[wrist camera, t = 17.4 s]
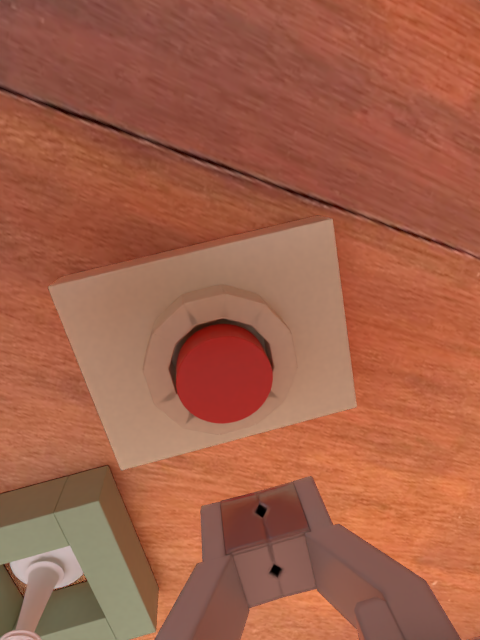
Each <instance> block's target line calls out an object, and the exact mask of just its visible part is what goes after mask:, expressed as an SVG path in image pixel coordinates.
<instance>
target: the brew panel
mask: <svg viewBox="0 0 480 640" xmlns="http://www.w3.org/2000/svg"><path fill="white" fill-rule="evenodd" d="M48 290H49V292H50V295H51V297H52V300H53V302H54V305H55V307H56V310H57V312H58V315H59V317H60V320H61V322H62V325H63V327H64V330H65V332H66V335H67V337H68V340H69V342H70V345H71V347H72V350H73V352H74V355H75V357H76V360H77V362H78V365H79V367H80V370H81V372H82V375H83V377H84V380H85V382H86V385H87V387H88V390H89V392H90V395H91V397H92V400H93V402H94V405H95V407H96V410H97V412H98V415H99V417H100V420H101V422H102V424H103V427H104V429H105V432H106V434H107V437H108V439H109V442H110V444H111V447H112V449H113V452H114V454H115V457H116V459H117V462H118V464H119V467H120V469H121V470H126V469H129V468H133V467H137V466H141V465H144V464H148V463H152V462H155V461H159V460H163V459H167V458H170V457H174V456H178V455H181V454H185V453H189V452H193V451H196V450H200V449H204V448H207V447H211V446H215V445H218V444H222V443H226V442H230V441H233V440H237V439H241V438H244V437H248V436H252V435H256V434H259V433H263V432H267V431H270V430H274V429H278V428H282V427H285V426H289V425H293V424H296V423H300V422H304V421H308V420H311V419H315V418H319V417H322V416H326V415H330V414H333V413H337V412H341V411H345V410H348V409H352V408H356V407H357V403H356V395H355V388H354V380H353V372H352V364H351V357H350V349H349V341H348V333H347V326H346V318H345V310H344V303H343V295H342V287H341V279H340V272H339V264H338V256H337V248H336V241H335V233H334V225H333V219H332V218H328V217H323V216H319V215H317V216H312V217H308V218H304V219H300V220H296V221H291V222H287V223H283V224H279V225H275V226H271V227H266V228H262V229H258V230H254V231H250V232H245V233H241V234H237V235H233V236H229V237H225V238H220V239H216V240H212V241H208V242H204V243H199V244H195V245H191V246H187V247H183V248H179V249H174V250H170V251H166V252H162V253H158V254H153V255H149V256H145V257H141V258H137V259H133V260H128V261H124V262H120V263H116V264H112V265H107V266H103V267H99V268H95V269H91V270H87V271H82V272H78V273H74V274H70V275H66V276H61V277H60V278H59V279H57V280H56V281H55V282H53V283H52V284H51V285H50V286H48ZM215 324H232V325H236V326H239V327H242V328H244V329H246V330H248V331H249V332H251V333H252V334H253V335H254V336H255V337H256V338H257V339H258V340H259V342H260V343H261V345H262V347H263V349H264V351H265V353H266V355H267V357H268V359H269V361H270V363H271V367H272V372H273V382H272V387H271V391H270V393H269V395H268V397H267V399H266V401H265V402H264V403H263V405H262V406H261V407H260V408H259V409H258V410H257V411H256V412H254V413H253V414H252V415H250V416H248V417H247V418H244V419H242V420H240V421H237V422H232V423H225V424H219V423H211V422H207V421H204V420H202V419H199V418H198V417H196V416H194V415H193V414H192V413H190V412H189V411H188V410H187V409H186V408H185V406H184V405H183V404H182V402H181V400H180V399H179V396H178V393H177V389H176V364H177V358H178V354H179V352H180V349H181V348H182V346H183V344H184V343H185V342H186V340H187V339H188V338H189V337H190V336H191V335H193V334H194V333H195V332H197V331H198V330H200V329H202V328H204V327H207V326H210V325H215Z"/></svg>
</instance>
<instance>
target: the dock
mask: <svg viewBox="0 0 480 640" xmlns="http://www.w3.org/2000/svg"><path fill="white" fill-rule="evenodd" d="M69 545H70V547H71V549H72V551H73V553H74V555H75V557H76V559H77V561H78V563H79V565H80V567H81V569H82V571H83V573H84V575H85V577H86V579H87V581H86V582H83V583H79V584H76V585H72V586H69V587H65V588H62V589H58V590H55V591H52V594H51V596H50V598H49V600H48V602H47V604H46V606H45V609H44V611H43V613H42V615H41V617H40V620H39V622H38V625H37V627H36V629H35V633H36V634H38V635H39V636H40V638H41V640H130V639H133V638H137V637H140V636H143V635H147V634H150V633H154V632H156V625H157V608H158V592H159V588H158V585H157V583H156V580H155V578H154V575H153V573H152V571H151V568H150V566H149V563H148V561H147V558H146V556H145V554H144V551H143V549H142V546H141V544H140V541H139V539H138V537H137V534H136V532H135V529H134V527H133V525H132V522H131V520H130V517H129V515H128V512H127V510H126V508H125V505H124V503H123V500H122V498H121V495H120V493H119V491H118V488H117V486H116V483H115V481H114V478H113V476H112V474H111V471H110V469H109V466H108V465H107V466H103V467H100V468H96V469H92V470H88V471H85V472H81V473H77V474H73V475H70V476H66V477H62V478H58V479H55V480H51V481H47V482H44V483H40V484H36V485H32V486H29V487H25V488H21V489H17V490H14V491H10V492H6V493H3V494H0V638H1V637H2V636H3V635H4V634H6V633H7V632H10V631H13V630H16V626H17V622H18V619H19V615H20V612H21V608H22V604H23V600H24V599H23V597H22V595H21V594H20V592H19V590H18V589H17V587H16V585H15V584H14V582H13V580H12V579H11V577H10V575H9V574H8V572H7V570H6V569H5V567H4V565H3V564H6V563H10V562H13V561H17V560H20V559H24V558H28V557H31V556H35V555H38V554H42V553H46V552H49V551H53V550H56V549H60V548H64V547H67V546H69Z"/></svg>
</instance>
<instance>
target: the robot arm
mask: <svg viewBox="0 0 480 640" xmlns="http://www.w3.org/2000/svg"><path fill="white" fill-rule="evenodd" d="M201 535H202V559H203V562H201V563H198V564H196V566H195V568H194V570H193V572H192V573H191V575H190V577H189V579H188V581H187V582H186V584H185V586H184V588H183V590H182V591H181V593H180V595H179V597H178V599H177V600H176V602H175V604H174V606H173V607H172V609H171V611H170V613H169V615H168V616H167V618H166V620H165V622H164V624H163V625H162V627H161V629H160V631H159V633H158V634H157V636H156V638H155V640H240V639H241V636H242V633H243V630H244V627H245V623H246V620H247V617H248V614H249V608H251V607H254V606H257V605H261V604H264V603H267V602H270V601H273V600H276V599H279V598H282V597H286V596H290V595H294V594H298V593H302V592H306V591H309V590H313V589H317V591H318V592H319V593H320V594H321V595H322V596H323V597H324V598H325V599H326V600H327V601H328V602H329V603H330V604H332V605H333V606H334V607H335V608H336V609H337V610H338V611H339V612H340V613H341V614H342V615H343V616H344V617H345V618H346V619H347V620H348V621H349V622H350V623H351V624H352V625H353V626H354V627H355V628H356V629H357V631H358V637H359V640H461V638H460V637H459V635H458V633H457V632H456V630H455V628H454V627H453V625H452V624H451V622H450V620H449V619H448V617H447V615H446V614H445V612H444V610H443V609H442V607H441V605H440V604H439V602H438V600H437V599H436V597H435V595H434V594H433V592H432V590H431V589H430V587H429V585H428V584H427V582H426V581H425V580H424V579H422V578H421V577H419V576H418V575H416V574H415V573H413V572H412V571H410V570H409V569H407V568H406V567H404V566H403V565H401V564H400V563H398V562H397V561H395V560H393V559H392V558H390V557H389V556H387V555H386V554H384V553H383V552H381V551H380V550H378V549H377V548H375V547H374V546H372V545H371V544H369V543H368V542H366V541H365V540H363V539H361V538H360V537H358V536H357V535H355V534H354V533H352V532H351V531H349V530H348V529H346V528H345V527H343V526H342V525H340V524H336V525H333V523H332V521H331V519H330V516H329V514H328V512H327V509H326V507H325V505H324V503H323V500H322V498H321V496H320V493H319V491H318V489H317V486H316V484H315V482H314V479H313V478H312V477H311V476H309V477H306V478H302V479H299V480H295V481H293V482H289V483H285V484H282V485H278V486H275V487H271V488H268V489H264V490H261V491H257V492H254V493H250V494H246V495H242V496H238V497H234V498H230V499H226V500H222V501H220V502H216V503H212V504H208V505H204V506H202V507H201ZM468 640H480V636H477V637H474V638H471V639H468Z"/></svg>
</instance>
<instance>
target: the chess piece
mask: <svg viewBox="0 0 480 640" xmlns="http://www.w3.org/2000/svg"><path fill="white" fill-rule="evenodd" d="M10 567H11V570H12V572H13V573H14V575H15V576H16V577H17V578H18V579H19V580H20V581H22V582H23V583H25V584H27V587H26V592H25V596H24V600H23V604H22V608H21V612H20V615H19V619H18V622H17V626H16V630H13V631H10V632H7V633H6V634H4V635H3V636H2V637H1V638H0V640H41V638H40V636H39V635H38V634H36V633H35V629H36V627H37V625H38V622H39V620H40V617H41V615H42V613H43V611H44V609H45V606H46V604H47V602H48V600H49V598H50V596H51V594H52V591H53V589H55V588H60V587H64V586H67V585H69V584H71V583H73V582H75V581H76V580H77V579H79V578H80V577H81V576H82V575H83V571H82V569H81V567H80V565H79V563H78V561H77V559H76V557H75V555H74V553H73V551H72V549H71V547H70V545H69V546H67V547H64V548H60V549H56V550H53V551H49V552H46V553H42V554H38V555H35V556H31V557H28V558H24V559H20V560H17V561H13V562H10Z"/></svg>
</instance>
